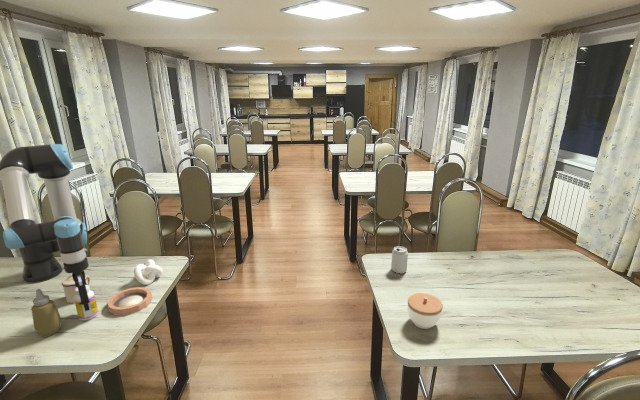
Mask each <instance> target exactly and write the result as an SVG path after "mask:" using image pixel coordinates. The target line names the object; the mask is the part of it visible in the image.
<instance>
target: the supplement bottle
mask: <svg viewBox="0 0 640 400" xmlns="http://www.w3.org/2000/svg"><path fill="white" fill-rule="evenodd" d="M85 286H86V290H87V294H88V298H89V300H90V305H91V309H92V313H93V316H90V317H87V318H85V317H84V313H83V309H82V305H79V303H81V299H80V295H79V291H78V287H77V288H76V289H75V293H76V295H75V296H74V302H75V303H74V306H75V309H76V314H77V318H78V319H79V320H80V321H89V320H92V319H94V318H96V317H97V316H98V314H99V309H98V303H97V301H96V296H95V293H94V291H93V290H91V288H90V284H89V285H85Z"/></svg>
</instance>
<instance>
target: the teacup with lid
mask: <svg viewBox="0 0 640 400" xmlns="http://www.w3.org/2000/svg"><path fill="white" fill-rule="evenodd" d="M85 276H86V277H85V280H86V285H89V286H90V284H91V277H90V276H89V275H87V274H85ZM61 286H62V287H63V292H64V295H65V299H66V302H67V303H71V304H75V302H74V296H75V295H76V293H75V289H76V288H77V287H76V285H75V281H74V280H73V277H72V273H70V275H69V276H67V277H65V278H64V279H63V280H62V281H61Z"/></svg>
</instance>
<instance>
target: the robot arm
mask: <svg viewBox="0 0 640 400" xmlns="http://www.w3.org/2000/svg"><path fill="white" fill-rule="evenodd" d="M65 146H66V145H63V144H61V143H55V144H54V143H49V144H40V145H30V146H28V145H27V146H18V147H15V148H13V149H11V150H9V151H8V152H6V153H5V154H4V155H3V156H2V158H1V159H0V181H1V182H2V187H3V188H2V189H3V194H4V200H5V204H6V206H5V207H6V212H7V217H8V222H9V223H8V224H9V228H8V229H4V230H3V231H2V237H3V242H4V244H5V247H6V248H7V249H8V250H16V249H17V250H18V249H19V252H20V255H21V259H22V262H23V271H22V279H23V282H25V283H28V284H29V283H30V284H35V283H40V282H45V281H48V280H52V279H53V278H56V277H57V276H59V275H60V274H61V273H63V268H64V272H65V273H67V274H72V277H73V280H74V281H75V285H76V287H78V291H79V295H80V299H81V303H79V305H82V309H83V313H84V317H85V318H87V317H90V316H93V313H92V309H91V305H90V300H89V298H88V294H87V290H86V286H85V285H86V280H85V277H86V276H87V275H86V273H85V270H86V269H89V261H88V258H87V254H86V252H87V251H88V249H87V248H85V245H86V244H87V242H88V235H87V234H88V233H87V227H86V226H87V225H86V223H85V222H83V221H81V220H80V218H78V217H77V215H76V210H75V205H74V201H73V196H72V193H71V189H70V183H69V179H68V176H69V175H70V173H71V170H74V169H73V168H74V166H73V164H72V161H71V159H70V155H69V153H68V151H67V148H66V147H65ZM31 174H37V176H38V178H40V179H41V180H43V181H44V186H45V190H46V192H47V193H46V194H47V197H48V200H49V205H50V209H51V213H52V215H53V216H52V217H53V220H51V221H46V222H40V223H37V221H36V217H35V212H34V207H33V202H32V197H31V194H30V193H31V192H30V188H29V183H28V179H29V177H30V175H31ZM57 252H59V254H60V258H61V262H62V264H63V265H61V263H60V262H59V260H57V258H56V257H55V255H54V254H55V253H57ZM85 275H86V276H85Z"/></svg>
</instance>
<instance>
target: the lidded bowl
mask: <svg viewBox="0 0 640 400" xmlns="http://www.w3.org/2000/svg"><path fill="white" fill-rule="evenodd" d="M442 311H443V302H442V301H441V300H440V299H439V298H437V297H436V296H434V295H432V294H428V293H414V294H412V295H410V296H409V297H408V299H407V313H408V317H409V319H410V321H411V323H413V324H414V325H415V326H416V327H417V328H419V329H422V330H423V329H424V330H428V329H429V330H430V329H431V328H432V327H434V326H436V325H437V324H438V323H439V321H440V319H441V316H442Z"/></svg>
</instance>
